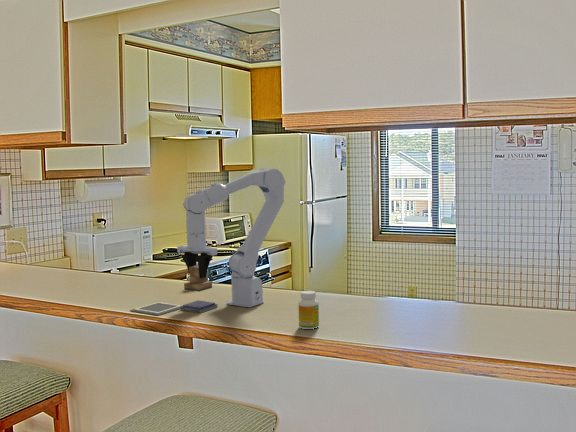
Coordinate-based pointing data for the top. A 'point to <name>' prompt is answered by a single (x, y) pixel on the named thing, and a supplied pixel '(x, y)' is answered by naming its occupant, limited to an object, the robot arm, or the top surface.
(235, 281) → the robot arm
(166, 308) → the marked square
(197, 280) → the stamp
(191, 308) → the ink pad
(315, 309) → the supplement bottle
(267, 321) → the top surface
